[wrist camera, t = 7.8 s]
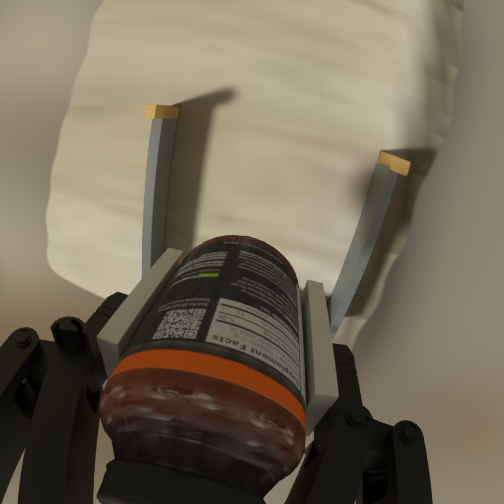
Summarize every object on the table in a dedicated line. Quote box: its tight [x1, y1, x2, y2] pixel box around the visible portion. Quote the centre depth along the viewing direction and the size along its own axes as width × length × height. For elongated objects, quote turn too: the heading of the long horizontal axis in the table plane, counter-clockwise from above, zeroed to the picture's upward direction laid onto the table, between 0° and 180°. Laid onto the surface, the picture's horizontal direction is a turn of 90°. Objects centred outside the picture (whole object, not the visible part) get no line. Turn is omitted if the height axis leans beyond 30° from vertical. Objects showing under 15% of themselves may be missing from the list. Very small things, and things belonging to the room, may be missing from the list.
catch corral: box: [142, 104, 411, 339], centre depth 21 cm, size 16×18×4 cm
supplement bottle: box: [97, 235, 306, 504], centre depth 9 cm, size 6×6×11 cm
